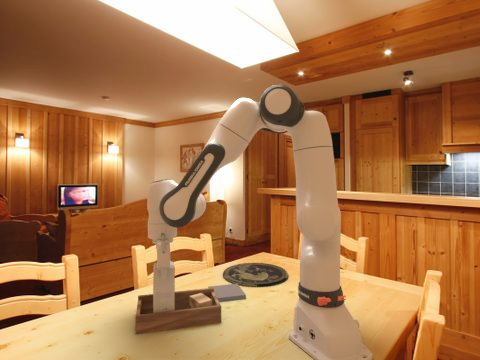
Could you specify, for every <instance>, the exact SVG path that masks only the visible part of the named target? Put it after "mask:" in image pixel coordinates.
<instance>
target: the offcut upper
mask: <svg viewBox="0 0 480 360" xmlns="http://www.w3.org/2000/svg"><path fill="white" fill-rule="evenodd" d="M190 306H191V307H193V308H198V307H206V306H212V300H211V299H210V298H208V297H207V296H205V295H204V294H202V293H199V294H195V295H191V296H190Z"/></svg>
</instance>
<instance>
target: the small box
mask: <svg viewBox="0 0 480 360" xmlns="http://www.w3.org/2000/svg"><path fill="white" fill-rule="evenodd" d="M152 268H153V269H152V270H153V275H152V276H153V278H152V279H153V283H152V285H153V288H152V292H153V293H152V294H153V313H157V312H166V311H174V310H175V292H176V291H175V290H176V288H175V287H176V285H175V282H176V281H175V280H176V278H175V276H176V275H175V271H176V269H175V264H174V261H171V266H170V268H169V269H168V271H167V280H166V281H161V273H160V269H158V268H157V262H154V263H153V267H152Z"/></svg>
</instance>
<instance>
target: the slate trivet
mask: <svg viewBox="0 0 480 360" xmlns="http://www.w3.org/2000/svg"><path fill="white" fill-rule="evenodd" d="M207 288H214V293H215V295H216V297H217V299H218V301H219V303H222V302H223V303H225V302H231V301H239V300H246V299H247V294H246V293H245V292H244V291H243V289H242V288H241V286H239V285H238V284H232V283H229V284H222V285H221V284H218V285H211V286H207Z"/></svg>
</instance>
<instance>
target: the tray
mask: <svg viewBox="0 0 480 360" xmlns="http://www.w3.org/2000/svg"><path fill="white" fill-rule="evenodd" d="M199 293H202V294H204V295H205V296H207V297H208V298H210V299H211V300H212V306H206V307H198V308H191V306H190V296H191V295H195V294H199ZM135 311H136V312H135V335H139V334H141V335H142V334H146V333H154V332H161V331H168V330H169V331H170V330H174V329H182V328H189V327H197V326H203V325H204V326H206V325H211V324H218V323H222V304H221V302H219V301H218V299H217V297H216V295H215V293H214V288H208V287H207V288H206V287H205V288H198V289H188V290H180V291H175V310H174V311H166V312H157V313H153V293H149V294H141V295H138V296H137V305H136V310H135Z"/></svg>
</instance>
